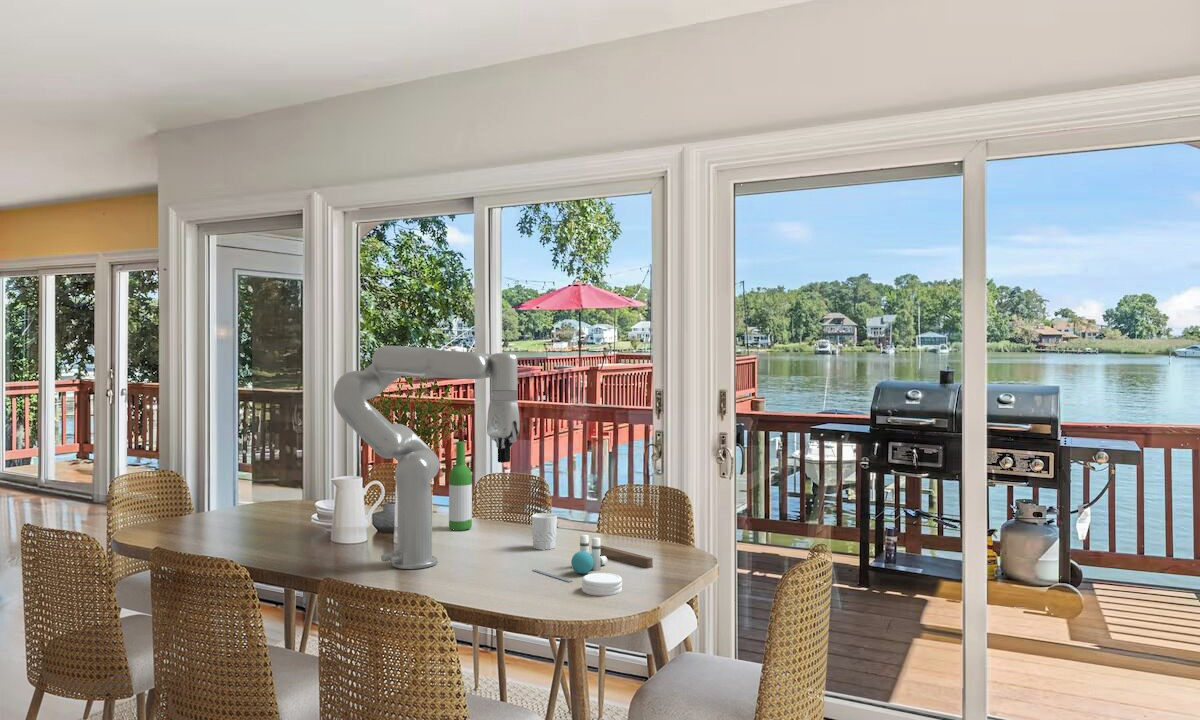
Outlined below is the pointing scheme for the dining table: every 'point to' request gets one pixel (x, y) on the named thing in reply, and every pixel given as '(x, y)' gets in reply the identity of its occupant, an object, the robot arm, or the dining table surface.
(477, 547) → the dining table surface
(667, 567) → the dining table surface
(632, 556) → the backstop
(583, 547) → the pin back left
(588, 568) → the ball
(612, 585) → the coaster
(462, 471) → the wine bottle
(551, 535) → the white cup
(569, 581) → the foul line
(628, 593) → the dining table surface
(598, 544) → the pin back right
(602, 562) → the pin front
